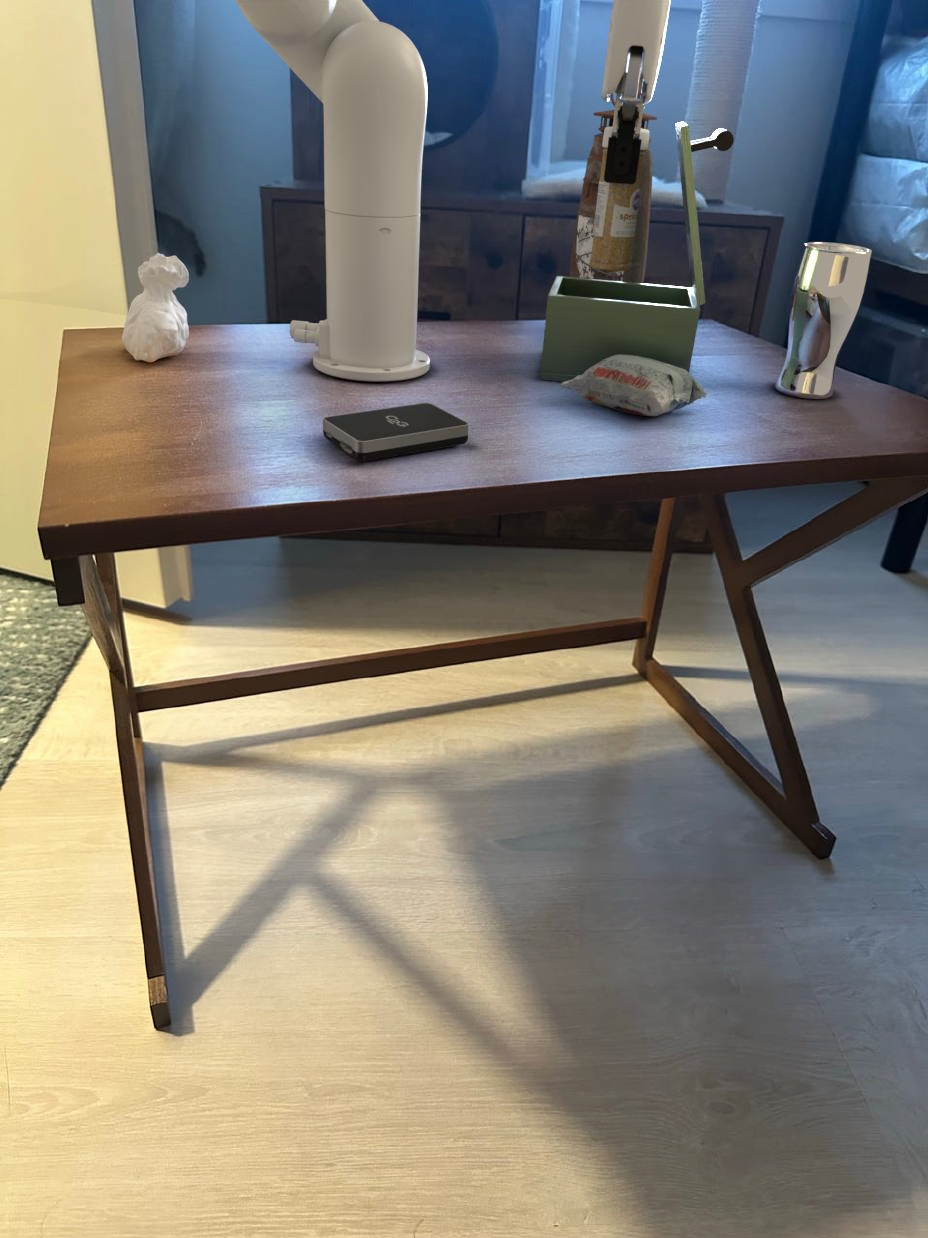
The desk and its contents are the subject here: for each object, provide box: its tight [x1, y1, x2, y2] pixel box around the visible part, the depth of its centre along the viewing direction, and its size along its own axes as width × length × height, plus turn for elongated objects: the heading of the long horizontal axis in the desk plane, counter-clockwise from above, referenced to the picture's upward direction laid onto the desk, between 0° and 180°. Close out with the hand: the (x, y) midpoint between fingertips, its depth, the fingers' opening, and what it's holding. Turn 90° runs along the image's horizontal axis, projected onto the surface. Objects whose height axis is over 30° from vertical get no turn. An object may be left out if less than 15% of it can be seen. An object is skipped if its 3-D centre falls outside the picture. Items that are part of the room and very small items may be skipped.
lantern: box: [569, 85, 658, 284], centre depth 111 cm, size 11×16×35 cm
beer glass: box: [775, 241, 873, 400], centre depth 99 cm, size 7×7×15 cm
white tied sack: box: [121, 252, 190, 363], centre depth 98 cm, size 12×8×11 cm
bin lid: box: [675, 121, 735, 306], centre depth 95 cm, size 16×12×5 cm
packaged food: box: [560, 354, 708, 417], centre depth 91 cm, size 9×12×5 cm
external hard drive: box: [322, 402, 470, 462], centre depth 79 cm, size 7×11×2 cm, turn 124°
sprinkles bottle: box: [589, 126, 650, 273], centre depth 96 cm, size 5×5×13 cm
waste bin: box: [539, 275, 701, 383], centre depth 102 cm, size 16×12×9 cm
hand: (620, 178), depth 95 cm, fingers closed on sprinkles bottle, 4 cm apart
